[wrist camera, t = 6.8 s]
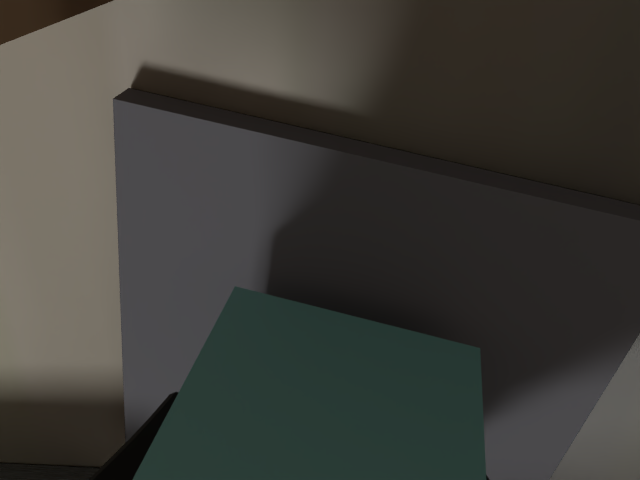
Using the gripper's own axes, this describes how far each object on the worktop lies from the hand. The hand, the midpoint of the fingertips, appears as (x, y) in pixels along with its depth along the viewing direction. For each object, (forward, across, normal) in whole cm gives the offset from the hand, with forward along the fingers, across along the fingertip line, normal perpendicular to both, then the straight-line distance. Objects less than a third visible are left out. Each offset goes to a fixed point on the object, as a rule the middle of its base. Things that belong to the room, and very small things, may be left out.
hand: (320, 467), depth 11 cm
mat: (+3, 0, 0) cm, 3 cm away
